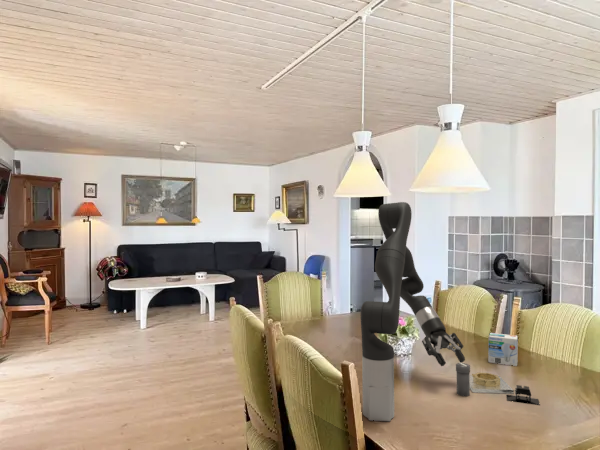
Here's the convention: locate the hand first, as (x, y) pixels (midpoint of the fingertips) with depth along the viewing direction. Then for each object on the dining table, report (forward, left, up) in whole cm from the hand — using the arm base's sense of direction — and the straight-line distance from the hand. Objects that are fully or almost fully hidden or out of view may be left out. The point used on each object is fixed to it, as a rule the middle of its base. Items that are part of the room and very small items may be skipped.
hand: (453, 363), depth 145 cm
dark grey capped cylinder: (-4, -2, -9) cm, 10 cm away
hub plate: (+4, -12, -9) cm, 16 cm away
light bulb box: (+31, -27, -9) cm, 42 cm away
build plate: (-7, -20, -10) cm, 23 cm away
